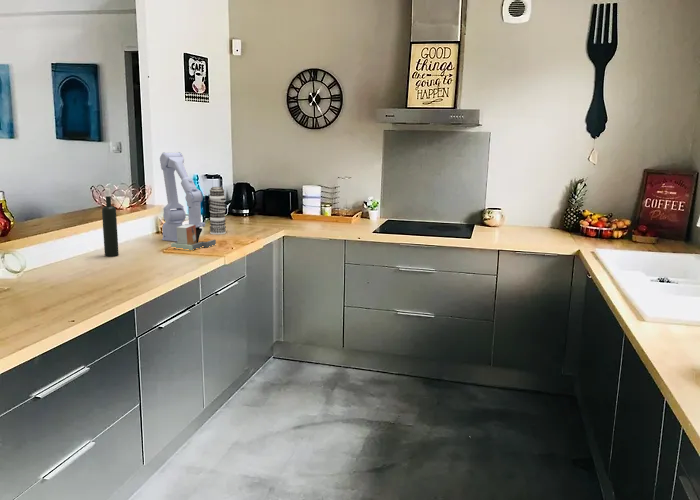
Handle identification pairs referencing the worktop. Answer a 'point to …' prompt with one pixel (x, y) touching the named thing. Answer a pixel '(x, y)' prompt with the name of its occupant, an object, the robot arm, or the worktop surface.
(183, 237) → the small box
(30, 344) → the worktop surface
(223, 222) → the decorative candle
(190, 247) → the keyhole jig
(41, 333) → the worktop surface
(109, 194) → the wine bottle
